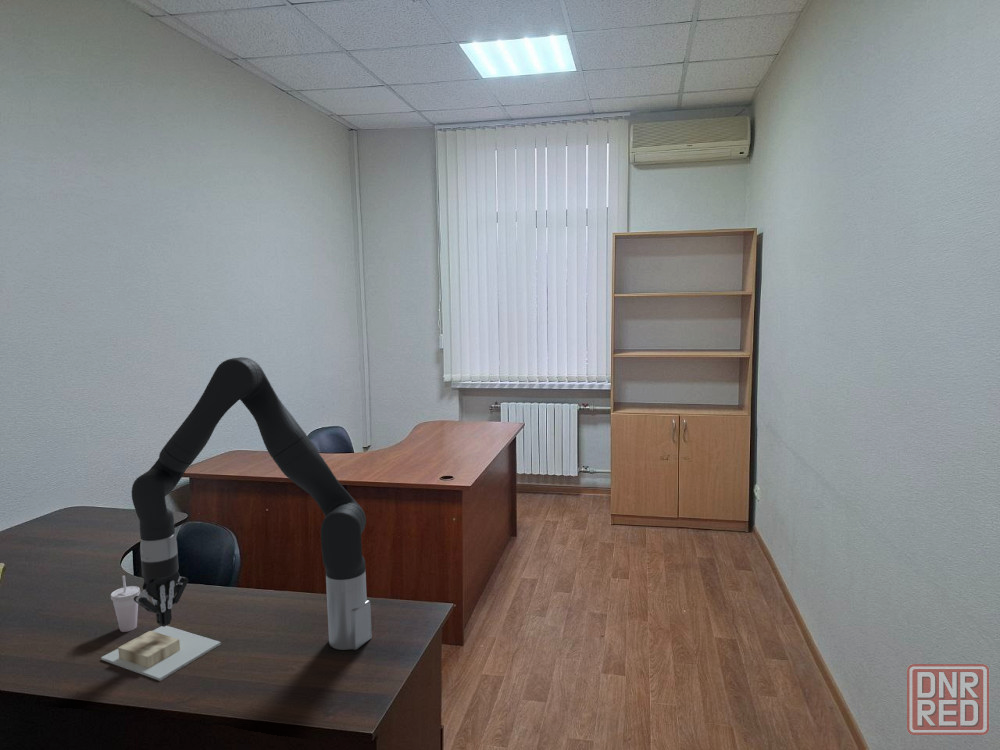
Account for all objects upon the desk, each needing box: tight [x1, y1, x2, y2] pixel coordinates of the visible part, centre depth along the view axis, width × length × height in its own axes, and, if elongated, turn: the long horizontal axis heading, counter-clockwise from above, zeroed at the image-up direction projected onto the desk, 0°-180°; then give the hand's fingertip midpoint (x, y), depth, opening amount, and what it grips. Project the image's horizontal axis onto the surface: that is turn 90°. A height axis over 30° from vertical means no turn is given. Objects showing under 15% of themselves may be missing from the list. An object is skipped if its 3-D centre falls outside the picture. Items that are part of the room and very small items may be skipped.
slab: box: [117, 630, 180, 668], centre depth 145 cm, size 10×3×8 cm
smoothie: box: [110, 574, 141, 633], centre depth 158 cm, size 6×6×14 cm
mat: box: [100, 625, 222, 682], centre depth 147 cm, size 20×16×1 cm
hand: (164, 624), depth 148 cm, fingers closed
